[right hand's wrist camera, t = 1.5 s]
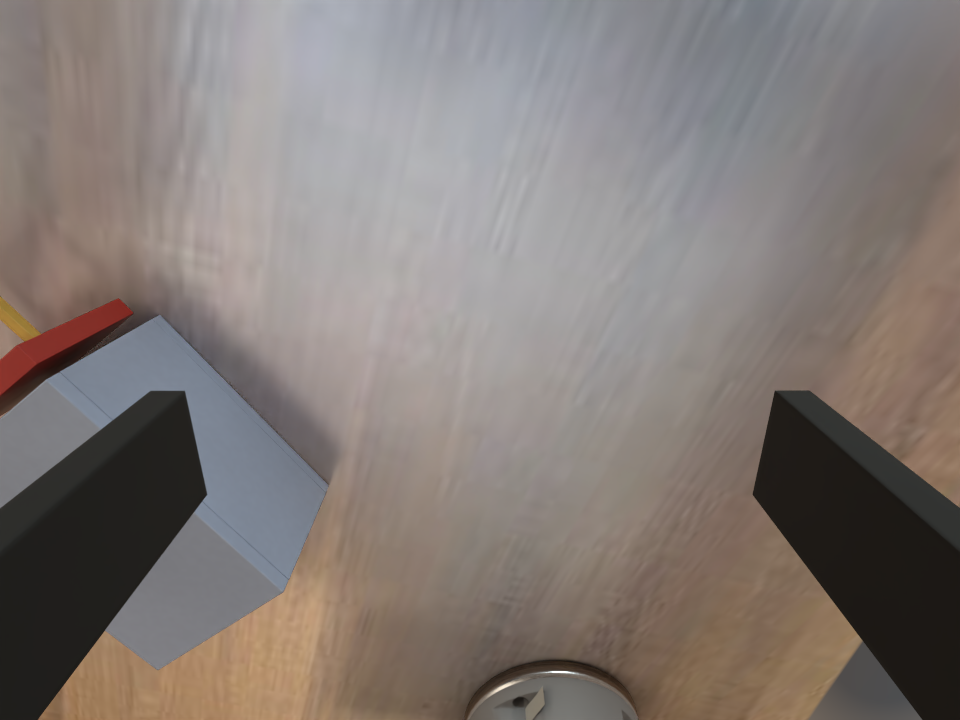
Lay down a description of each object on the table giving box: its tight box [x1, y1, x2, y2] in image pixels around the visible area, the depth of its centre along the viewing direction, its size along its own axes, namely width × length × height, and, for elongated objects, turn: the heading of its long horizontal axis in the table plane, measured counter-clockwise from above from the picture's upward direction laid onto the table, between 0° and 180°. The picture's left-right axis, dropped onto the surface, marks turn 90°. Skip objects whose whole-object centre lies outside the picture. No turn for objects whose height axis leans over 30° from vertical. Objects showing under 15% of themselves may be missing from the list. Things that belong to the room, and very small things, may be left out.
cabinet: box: [0, 315, 329, 670], centre depth 35 cm, size 16×10×10 cm, turn 36°
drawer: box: [0, 297, 133, 416], centre depth 33 cm, size 20×9×8 cm, turn 36°
